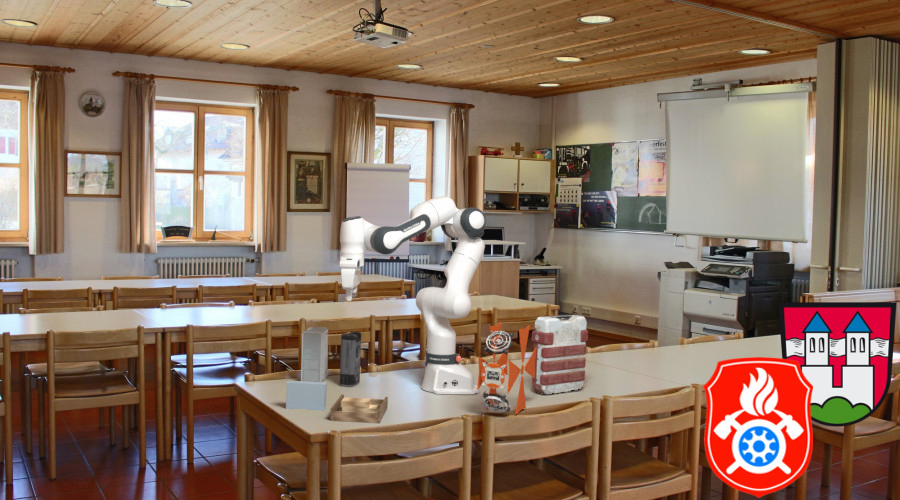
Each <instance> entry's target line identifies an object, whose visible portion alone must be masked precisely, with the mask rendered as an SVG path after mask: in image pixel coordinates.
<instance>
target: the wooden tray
mask: <svg viewBox="0 0 900 500" xmlns="http://www.w3.org/2000/svg"><path fill="white" fill-rule="evenodd" d="M344 397H345V394H344V393H343V394H341V395H340V396H339V397H338V399H337V400H336V401H335V403H333V405H332V406H331V408H330V415H329V416H330V419H329V420H333V422H347V421H350V423H369V424H381V422H382V420H383V418H384V416H385V414H386V412H387V410H388V407H389V406H388V404H389V403H388V400H389V397H388V396H385V397H384V398H383V399H382V398H380V399H379V398H370V399H371V405H378V413H364V412H345V411H339V410H340V409H342V407H341V401H342V399H343V398H344Z"/></svg>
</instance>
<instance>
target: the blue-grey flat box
mask: <svg viewBox="0 0 900 500" xmlns="http://www.w3.org/2000/svg"><path fill="white" fill-rule="evenodd" d="M327 384H328V382H323V381H322V382H304V381H301V380H300V381H299V380H288V381H287V382H286V391H285V393H286V396H285V402H286V403H285V409H286V410H298V409H307V410H306V411H317V410H319V411H318V412H323V411H324V412H325V410H326V409H327V389H328V388H327V387H328V386H327ZM320 410H321V411H320Z"/></svg>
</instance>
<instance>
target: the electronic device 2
mask: <svg viewBox="0 0 900 500" xmlns="http://www.w3.org/2000/svg"><path fill="white" fill-rule="evenodd" d="M501 326H502V321H500V322H499V323H498V324H496V325H489V333H490V334H489V335H488V336H487V338H486V341H485V343H486V344H485V345H486V347H484V348H483V349H484V352H485V353H486V354H488V352H489V353H490V352H491V354H492V357H493V358H492V359H493V360H494V361H493V362H490V363H489V362H488V361H486V360H485V359H483V358H482V357H480V356H478V375H477V376H478V378H477V391H478V389H479V390H480V387H481V388H482V387H484V386H487V387H488V388H489V391H488V392H489V393H486V391H484V392H483V393H482V398H483V399H484V400H483V405H484V406H485V407H486V409H485V411H486V410H487V411H489V410H490V411H492V412H496V413H504V412H507V413H510V411H511V406H510V403H509V400H508V399H507V395H509V393H510V391H511V390H512V388H513V387H514V384H515V383H516V381H517V378H518V377H519V376H520V375H522V376H521V378H520V383H519V388H518V389H519V390H518V395H517V401H516V405H515V407H516V408H515V412H514V415H515V414H517V415H518V414H519V413H520V412H521V411H522V409H524V408H526V409H527V404H526V394H525V384H524V376H523V374H524V371H525V372H526V373H527V374H528V375H530V376H531V377H533V378H534V379H535V358H536V348H537V347H536V348H535V350H534V349H533V351H532V353H531V355H530V357H529V358H528V360H527V361H526V364H525V365H524V362H525V356H526V349H527V347H528V346H527V345H528V337H529V332H530V327H531V325H530V324H529V325H527V326H526V327H525V328H518V334H519V344H520V346H519V347H520V353H521V363H522V364H521V367H519V366H517V364H515V363H514V362H513V361H511V360H510V359H508V357H509V349H510V347H511V346H512V339H513V338H514V333H513V332H512V333H508V332H506V331H504V330H501V328H502V327H501ZM504 336H505V341H504V338H503V337H504ZM508 339H509V340H508ZM490 341H491V342H490ZM489 345H490V346H491V347H489ZM502 347H503V348H502ZM498 354H501V355H500V356H499V358H498V359H497V361H495V360H496V356H497V355H498ZM506 376H508V380H507V386H504V385H503V384H504V383H505V379H506ZM498 388H500V389H502V390H505V388H507V390H506V391H507V393H505V394H504V395H501V394H499V393H497V389H498ZM488 409H489V410H488ZM524 410H525V409H524Z"/></svg>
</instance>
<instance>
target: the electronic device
mask: <svg viewBox="0 0 900 500" xmlns="http://www.w3.org/2000/svg"><path fill="white" fill-rule="evenodd" d="M340 339H341V340H340V363H339V367H340V368H339V386H340V387H346V388H347V387H348V388H353V387H355V386H357V385H359V383H360V382H361V381H360V379H361V378H360V377H361V375H360V374H361V354H362V352H361V351H362V350H361V349H362V348H361V347H362V333H361V332H360V331H346V332H344V333H341V336H340Z"/></svg>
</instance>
